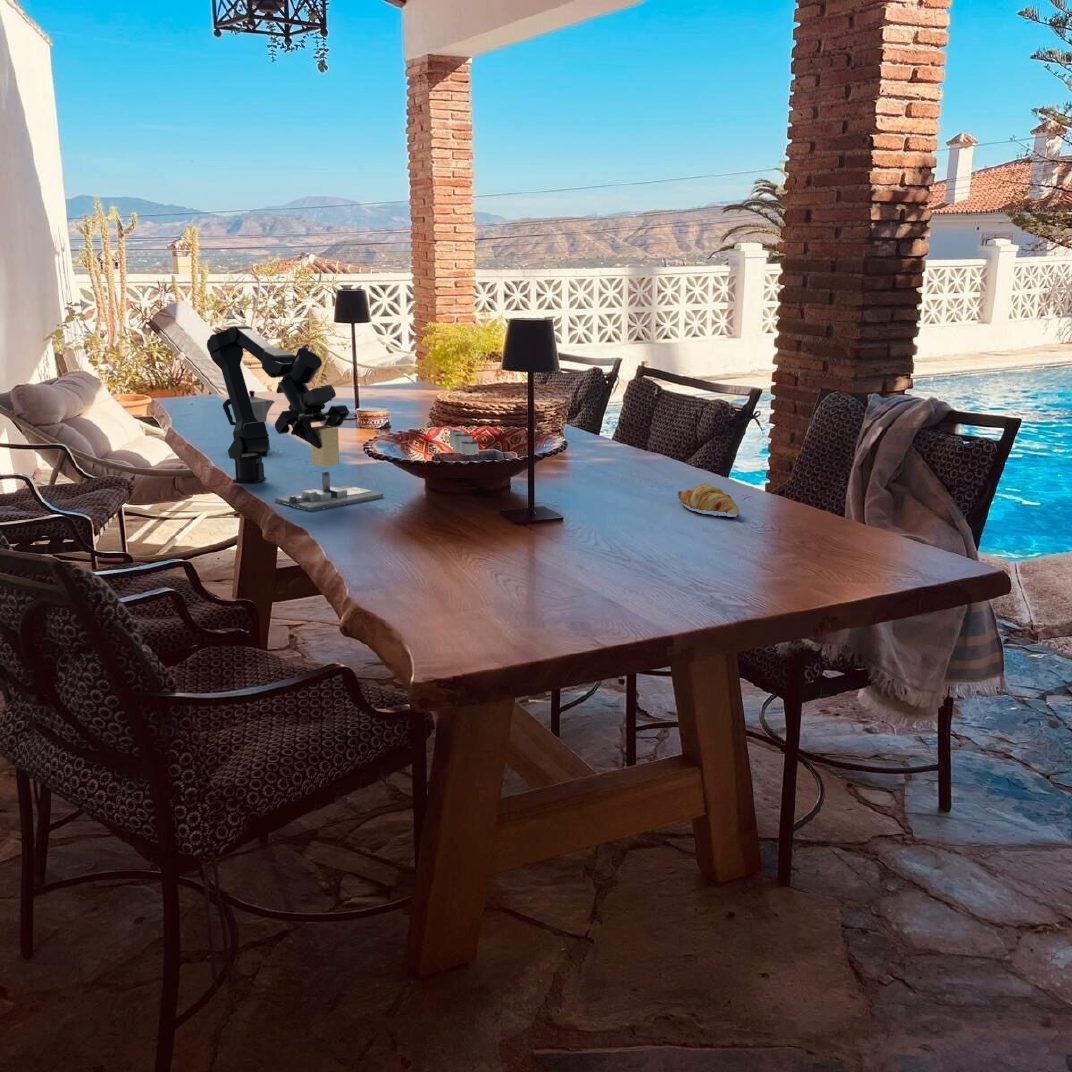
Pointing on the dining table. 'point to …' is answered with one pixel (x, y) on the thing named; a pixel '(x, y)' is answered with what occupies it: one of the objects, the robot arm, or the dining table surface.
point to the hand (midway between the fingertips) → (328, 446)
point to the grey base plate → (329, 496)
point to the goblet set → (463, 443)
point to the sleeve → (326, 446)
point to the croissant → (708, 499)
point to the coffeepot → (258, 406)
